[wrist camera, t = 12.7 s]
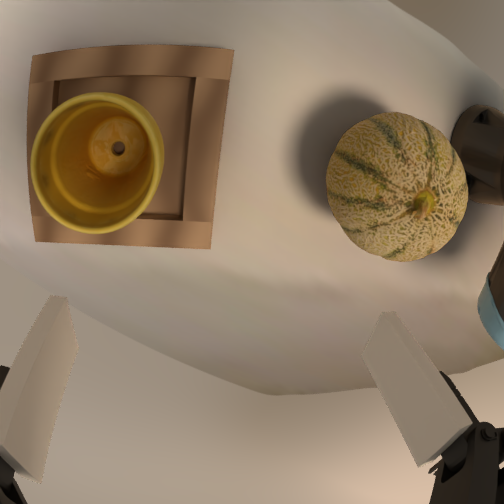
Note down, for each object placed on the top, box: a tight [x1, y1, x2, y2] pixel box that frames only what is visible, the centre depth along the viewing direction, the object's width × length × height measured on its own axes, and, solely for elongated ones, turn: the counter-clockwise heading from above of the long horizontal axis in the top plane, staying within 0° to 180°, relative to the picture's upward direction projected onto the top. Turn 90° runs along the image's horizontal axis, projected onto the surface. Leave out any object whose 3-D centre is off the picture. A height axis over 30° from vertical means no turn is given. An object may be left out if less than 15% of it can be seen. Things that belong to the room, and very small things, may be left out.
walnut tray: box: [27, 45, 234, 249], centre depth 27 cm, size 20×20×3 cm
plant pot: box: [30, 92, 164, 234], centre depth 23 cm, size 10×10×10 cm
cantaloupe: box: [326, 112, 468, 262], centre depth 27 cm, size 15×15×15 cm
